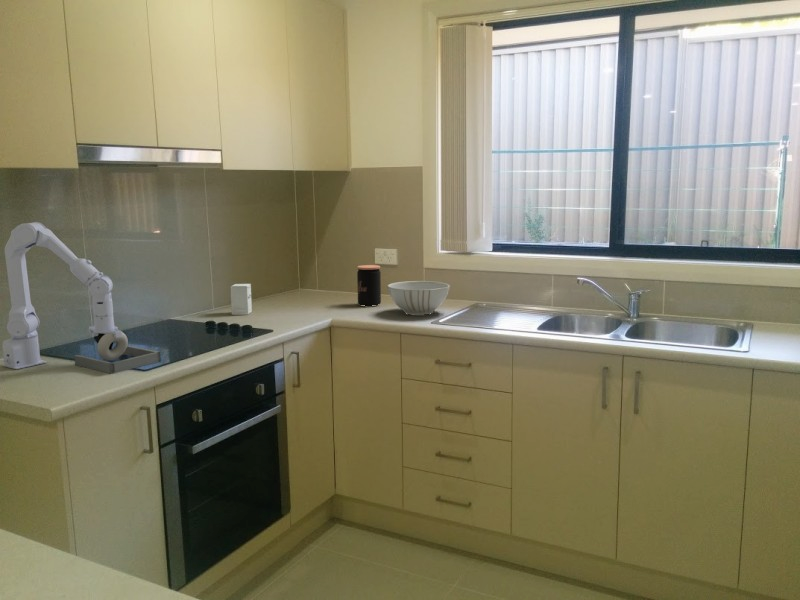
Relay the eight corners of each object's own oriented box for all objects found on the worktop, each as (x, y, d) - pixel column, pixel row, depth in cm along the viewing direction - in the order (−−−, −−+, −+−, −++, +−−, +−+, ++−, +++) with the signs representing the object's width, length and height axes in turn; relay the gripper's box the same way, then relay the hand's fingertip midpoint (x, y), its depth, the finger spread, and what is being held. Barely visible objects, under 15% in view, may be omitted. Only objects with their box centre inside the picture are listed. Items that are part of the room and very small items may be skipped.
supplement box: (248, 315, 287) (247, 285, 285) (231, 315, 287) (229, 286, 285) (252, 311, 294) (251, 283, 292) (235, 312, 294) (234, 283, 292)
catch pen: (111, 373, 196) (111, 363, 196) (75, 364, 207) (74, 355, 206) (160, 361, 210) (160, 351, 210) (124, 353, 220) (123, 344, 220)
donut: (121, 353, 216) (125, 325, 212) (128, 358, 214) (131, 330, 211) (93, 360, 208) (96, 332, 204) (99, 365, 206) (102, 336, 202)
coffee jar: (355, 303, 313) (354, 265, 310) (377, 302, 316) (376, 264, 313) (361, 307, 303) (360, 268, 300) (383, 306, 306) (383, 267, 303)
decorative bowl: (416, 321, 270) (416, 291, 268) (375, 312, 290) (374, 285, 288) (462, 313, 287) (462, 285, 285) (420, 305, 307) (420, 279, 305)
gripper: (129, 315, 209) (132, 357, 211) (101, 310, 216) (104, 351, 219) (108, 318, 203) (112, 362, 205) (80, 314, 211) (84, 356, 213)
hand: (106, 357), depth 211 cm, fingers closed, pressing on donut
